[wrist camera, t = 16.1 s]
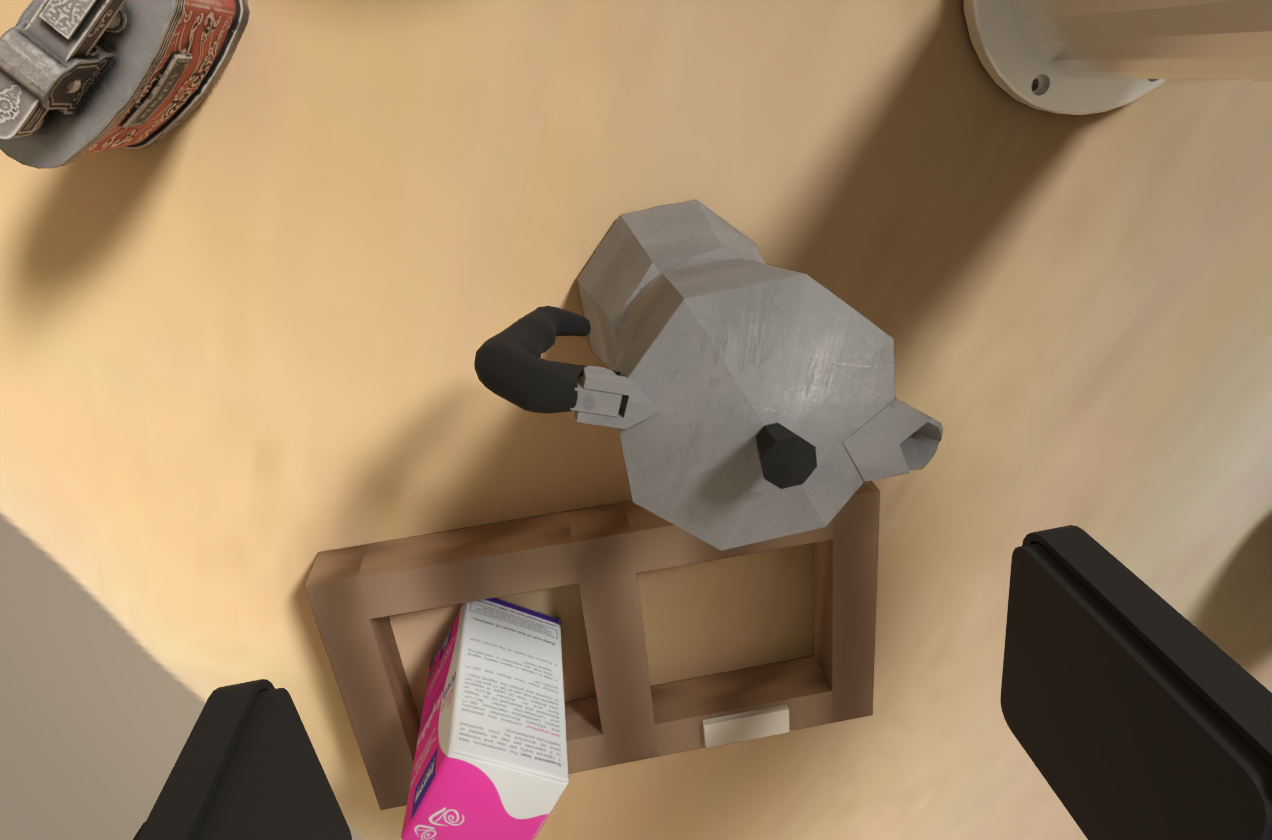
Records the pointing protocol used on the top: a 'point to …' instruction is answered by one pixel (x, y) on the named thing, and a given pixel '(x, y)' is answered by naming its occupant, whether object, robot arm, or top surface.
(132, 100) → the lighter
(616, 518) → the wooden compartment tray
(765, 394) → the coffeepot
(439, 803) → the supplement box
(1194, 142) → the top surface
